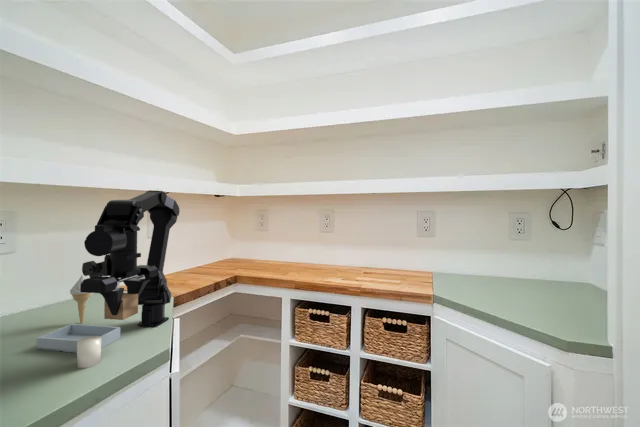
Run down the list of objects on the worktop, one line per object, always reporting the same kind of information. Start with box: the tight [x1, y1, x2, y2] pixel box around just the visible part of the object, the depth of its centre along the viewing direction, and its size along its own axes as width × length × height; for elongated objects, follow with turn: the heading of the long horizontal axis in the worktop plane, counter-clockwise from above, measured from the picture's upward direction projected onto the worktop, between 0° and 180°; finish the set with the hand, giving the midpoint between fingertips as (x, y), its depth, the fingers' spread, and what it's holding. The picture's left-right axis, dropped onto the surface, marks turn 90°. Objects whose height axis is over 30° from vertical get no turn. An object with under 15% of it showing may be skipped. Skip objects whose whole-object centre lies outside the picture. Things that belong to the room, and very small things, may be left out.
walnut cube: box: [103, 292, 139, 321], centre depth 74 cm, size 5×5×5 cm
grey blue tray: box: [36, 323, 121, 354], centre depth 77 cm, size 9×15×3 cm, turn 84°
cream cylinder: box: [76, 336, 102, 369], centre depth 68 cm, size 4×4×6 cm
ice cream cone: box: [69, 274, 92, 324], centre depth 90 cm, size 6×6×15 cm
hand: (123, 311), depth 74 cm, fingers closed on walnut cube, 5 cm apart
